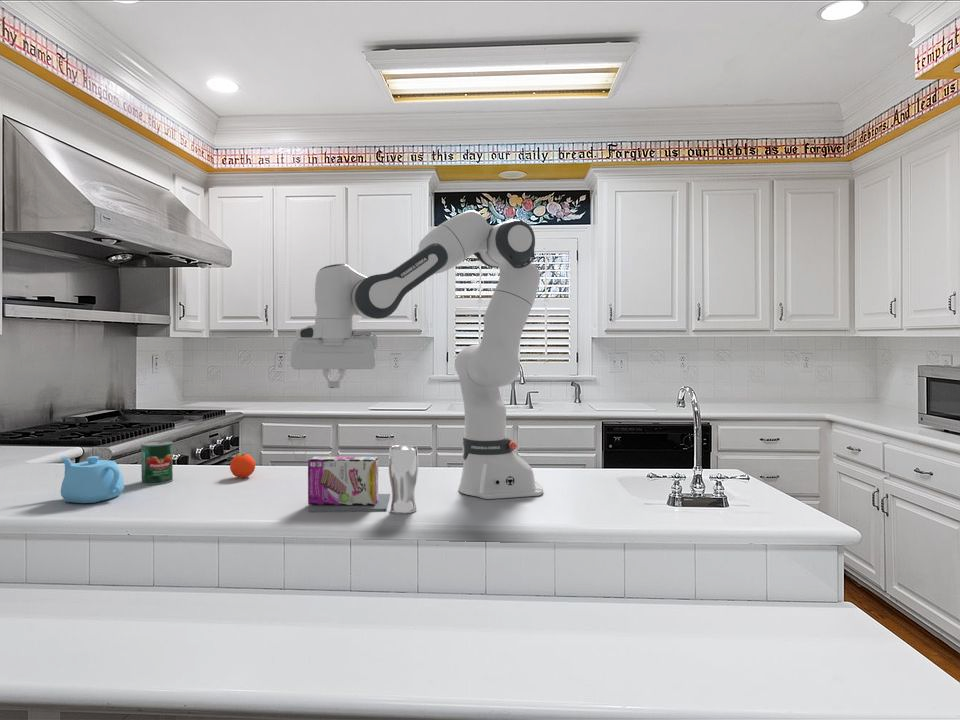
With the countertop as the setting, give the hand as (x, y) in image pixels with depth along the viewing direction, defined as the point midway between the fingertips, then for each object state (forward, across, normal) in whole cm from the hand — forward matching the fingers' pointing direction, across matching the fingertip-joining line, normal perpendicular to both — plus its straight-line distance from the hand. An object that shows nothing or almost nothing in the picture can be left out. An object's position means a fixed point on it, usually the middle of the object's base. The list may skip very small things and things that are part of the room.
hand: (334, 388), depth 154 cm
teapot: (+28, +62, -9) cm, 69 cm away
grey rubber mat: (+28, -4, 0) cm, 29 cm away
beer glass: (+29, -17, +7) cm, 34 cm away
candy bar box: (+22, +6, +1) cm, 23 cm away
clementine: (+29, +31, -31) cm, 52 cm away
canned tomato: (+28, +53, -27) cm, 66 cm away
